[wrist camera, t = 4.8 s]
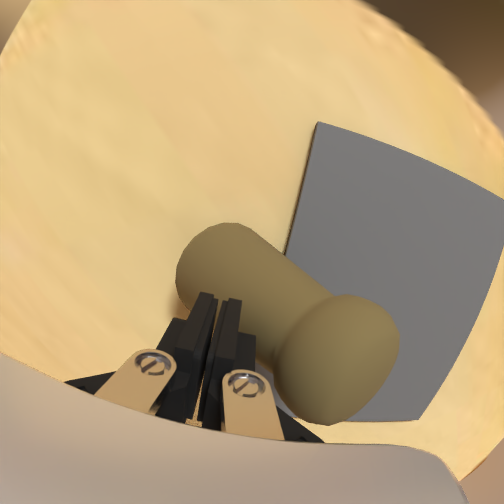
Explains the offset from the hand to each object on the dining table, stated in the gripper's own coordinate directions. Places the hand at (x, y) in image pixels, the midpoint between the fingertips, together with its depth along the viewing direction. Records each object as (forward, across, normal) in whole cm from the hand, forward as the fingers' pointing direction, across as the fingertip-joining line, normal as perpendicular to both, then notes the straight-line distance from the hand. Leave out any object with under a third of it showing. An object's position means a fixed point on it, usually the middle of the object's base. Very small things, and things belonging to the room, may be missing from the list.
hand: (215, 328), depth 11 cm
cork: (+7, 0, 0) cm, 7 cm away
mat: (+8, -12, +1) cm, 15 cm away
